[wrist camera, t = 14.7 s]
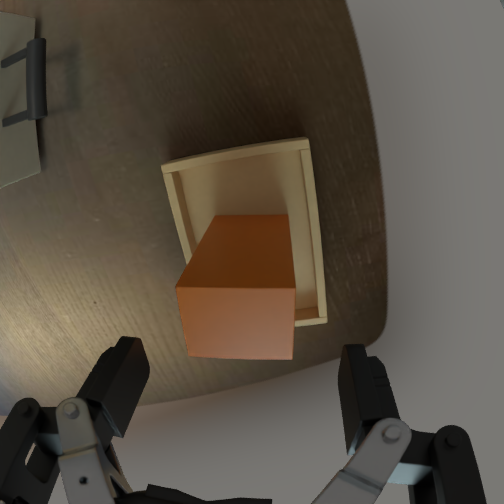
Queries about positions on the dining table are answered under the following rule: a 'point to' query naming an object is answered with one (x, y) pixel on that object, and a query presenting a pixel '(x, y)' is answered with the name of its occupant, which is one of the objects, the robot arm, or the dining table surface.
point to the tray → (255, 205)
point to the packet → (240, 290)
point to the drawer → (20, 96)
